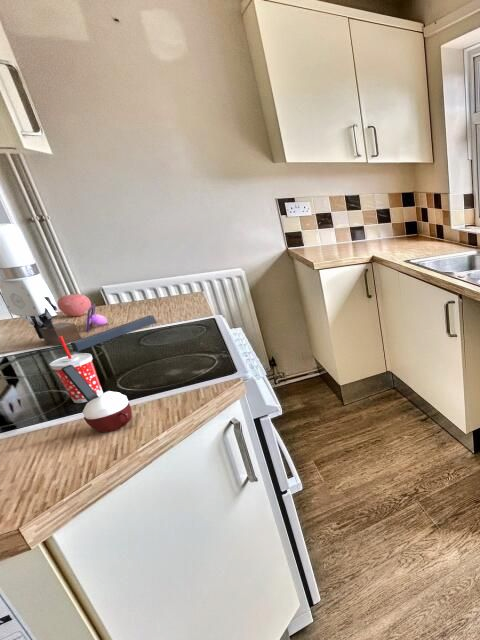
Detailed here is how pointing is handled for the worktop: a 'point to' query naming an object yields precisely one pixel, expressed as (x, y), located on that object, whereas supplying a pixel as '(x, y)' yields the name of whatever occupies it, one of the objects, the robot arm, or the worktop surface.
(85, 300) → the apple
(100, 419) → the cocoa
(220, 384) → the worktop surface
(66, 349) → the beverage cup
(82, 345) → the rail
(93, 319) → the purple looped trinket
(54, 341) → the walnut block
